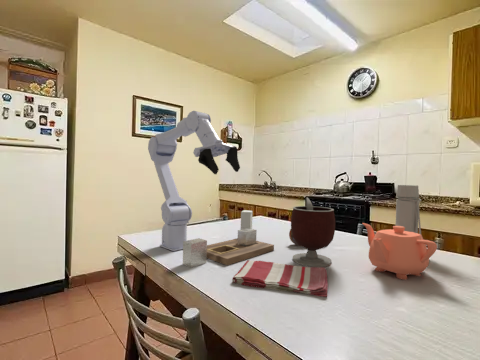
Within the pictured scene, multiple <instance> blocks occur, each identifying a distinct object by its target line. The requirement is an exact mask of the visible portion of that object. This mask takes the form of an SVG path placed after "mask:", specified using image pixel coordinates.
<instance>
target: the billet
mask: <svg viewBox="0 0 480 360" xmlns="http://www.w3.org/2000/svg"><path fill="white" fill-rule="evenodd" d="M207 245H208V240H206V239H202V238H194V239H189V240H186V241H183V249H182V265H184V266H186V267H188V268H193V267H194V268H195V267H197V266H201V265H204V264H207V259H208V258H207Z"/></svg>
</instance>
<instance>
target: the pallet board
mask: <svg viewBox="0 0 480 360" xmlns="http://www.w3.org/2000/svg"><path fill="white" fill-rule="evenodd" d="M273 251H275V244H271V243H267V242H263V241H259V240H256V244H254V245H251V246H247V247H244V246H241V245H238V237H237V238H233V239H229V240H225V241H224V240H223V241H220V242H215V243H211V244H207V259H208V260H211V261H214V262H217V263H219V264H222V265H225V266H229V265H230V266H231V265H233V264H235V263H239V262H242V261H246V260H248V259H252V258H255V257H257V256H261V255H264V254H267V253H270V252H273Z"/></svg>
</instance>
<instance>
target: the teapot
mask: <svg viewBox="0 0 480 360" xmlns="http://www.w3.org/2000/svg"><path fill="white" fill-rule="evenodd" d="M361 225H363V226H364V227H365V228H366V231H367V244H368V245H369V250H368V260H369V261H370V263H371V265H372V266H375V267H374V270H375V271H376V272H381V273H383V272H385V271H387V272H391V273H394V274H396V275H395V276H396V278H397V279H399V280H402V281H403V280H405V281H406V280H408V275H412V276H415V277H421V276H422V274H421V273H423V272H425V270H427V268H428V266H429V265H430V258H431V257H432V256H433V255H434V254H435V253H436V251H437V249H438V245H437V243H436V241H435V242H434V241H432V240H428V239H424V238H423V235H422V233H421V234H419V232H418V233H414V232H408V231H404V230H405V227H403V226H396V225H393V226H392V228H393V229H391V228H390V229H380V230H378V231H376V233H375V231H374V228H373V227H372V225H370V223H369V224H368V223H365V222H362V224H361Z"/></svg>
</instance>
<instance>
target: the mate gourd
mask: <svg viewBox="0 0 480 360" xmlns="http://www.w3.org/2000/svg"><path fill="white" fill-rule="evenodd" d="M305 201H306V204H305V205H304V206H303V205H301V206H300V205H299V206H293V207H292V211H291V212H292V213H291V217H290V229H291V231H292V236H293V238H294V240H295V241H296V243H297V244H298V245H300V247H303V248H304V249H306V250H307V251H306V252H305V253H304V252H301V253H297V254H293V255H292V261H293V262H294V263H296V264H298V265H301V266H303V267H318V268H320V267H324V268H326V267H329V266H330V265H332V262H333V261H332V259H331V258H329V256H326V255H321V254H318V252H317V250H321V249H325V248H327V247H328V246H330V244H331V243H332V241H334V240H333V239H334V237H335V232H336V216H335V212H334V211H335V209H334V208H331V207H326V206H325V207H324V206H314V205H313V203H312V201H311V200H310V198H309V197H305ZM298 245H297V246H298Z"/></svg>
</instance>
